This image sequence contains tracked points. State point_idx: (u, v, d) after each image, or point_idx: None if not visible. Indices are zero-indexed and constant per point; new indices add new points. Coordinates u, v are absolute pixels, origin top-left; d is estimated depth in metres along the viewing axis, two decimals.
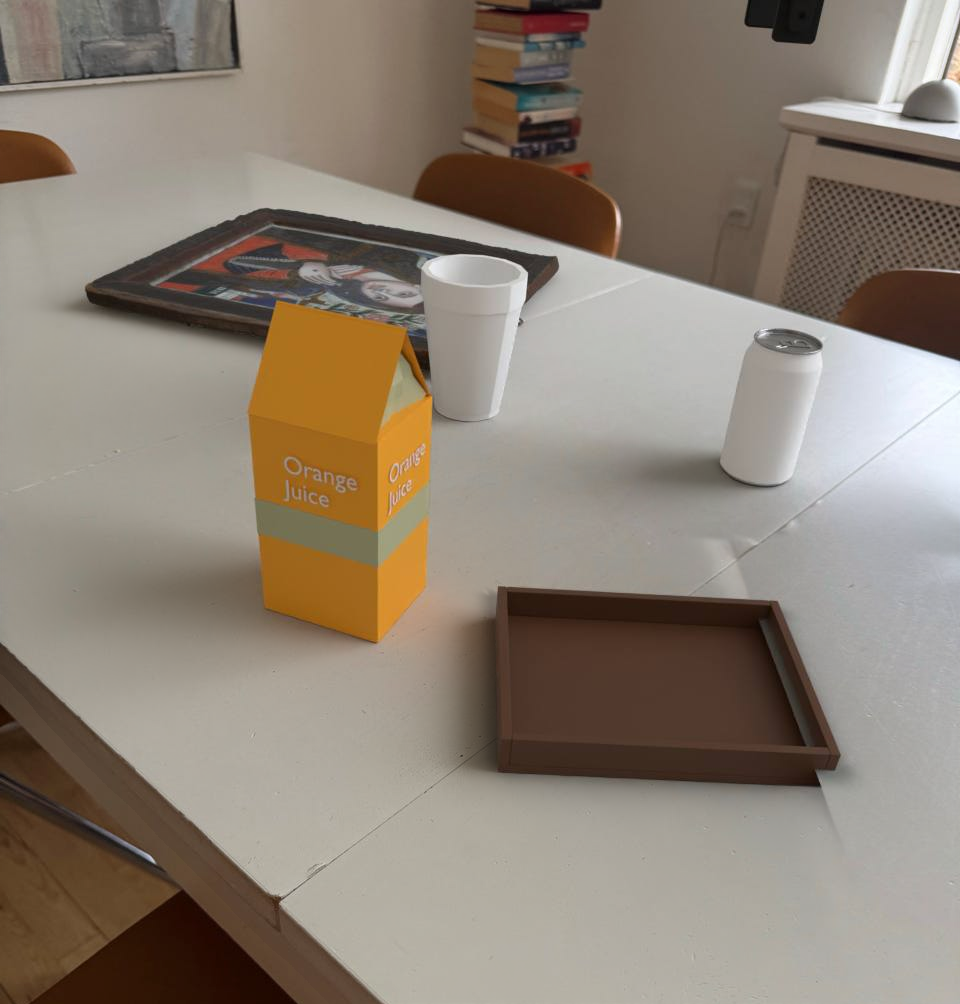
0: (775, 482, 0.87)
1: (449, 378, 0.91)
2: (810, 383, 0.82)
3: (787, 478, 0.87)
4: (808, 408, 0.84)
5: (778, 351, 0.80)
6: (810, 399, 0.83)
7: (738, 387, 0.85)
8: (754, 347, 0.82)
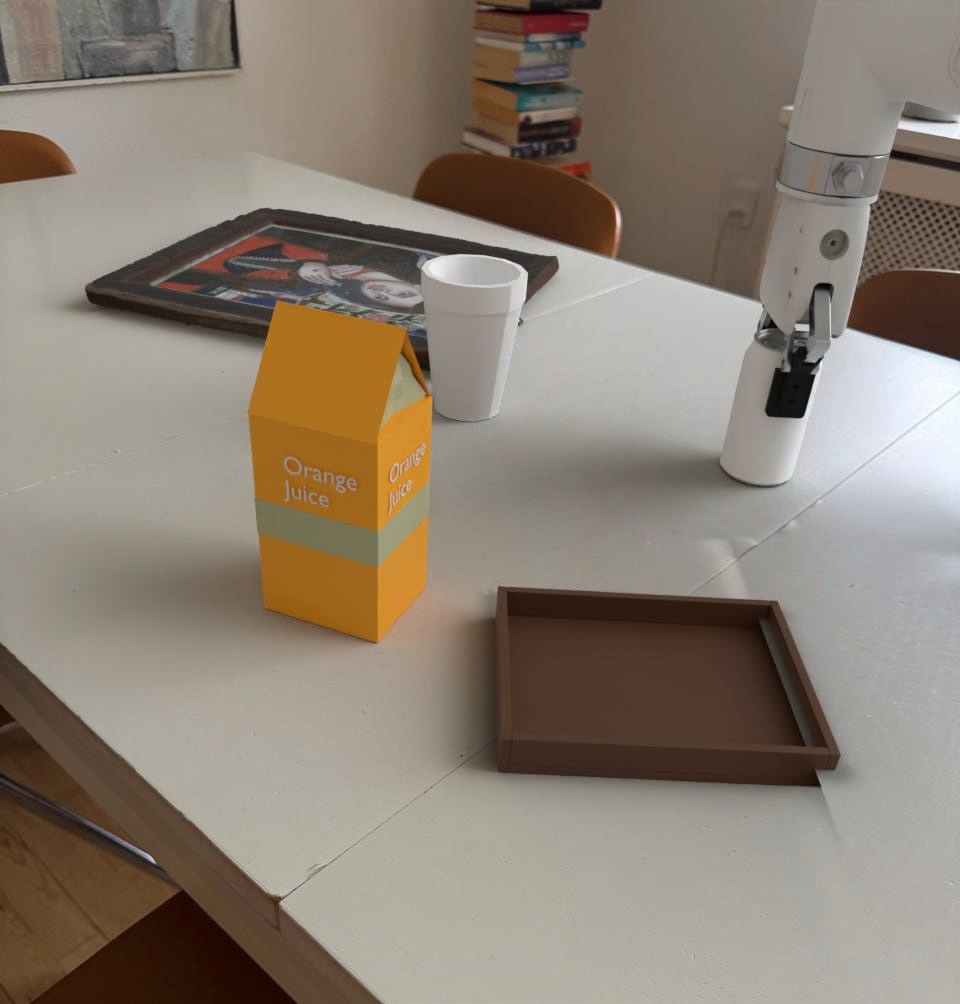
0: (775, 482, 0.87)
1: (449, 378, 0.91)
2: None
3: (787, 478, 0.87)
4: (808, 408, 0.84)
5: (778, 351, 0.80)
6: (810, 399, 0.83)
7: (738, 387, 0.85)
8: (753, 346, 0.82)
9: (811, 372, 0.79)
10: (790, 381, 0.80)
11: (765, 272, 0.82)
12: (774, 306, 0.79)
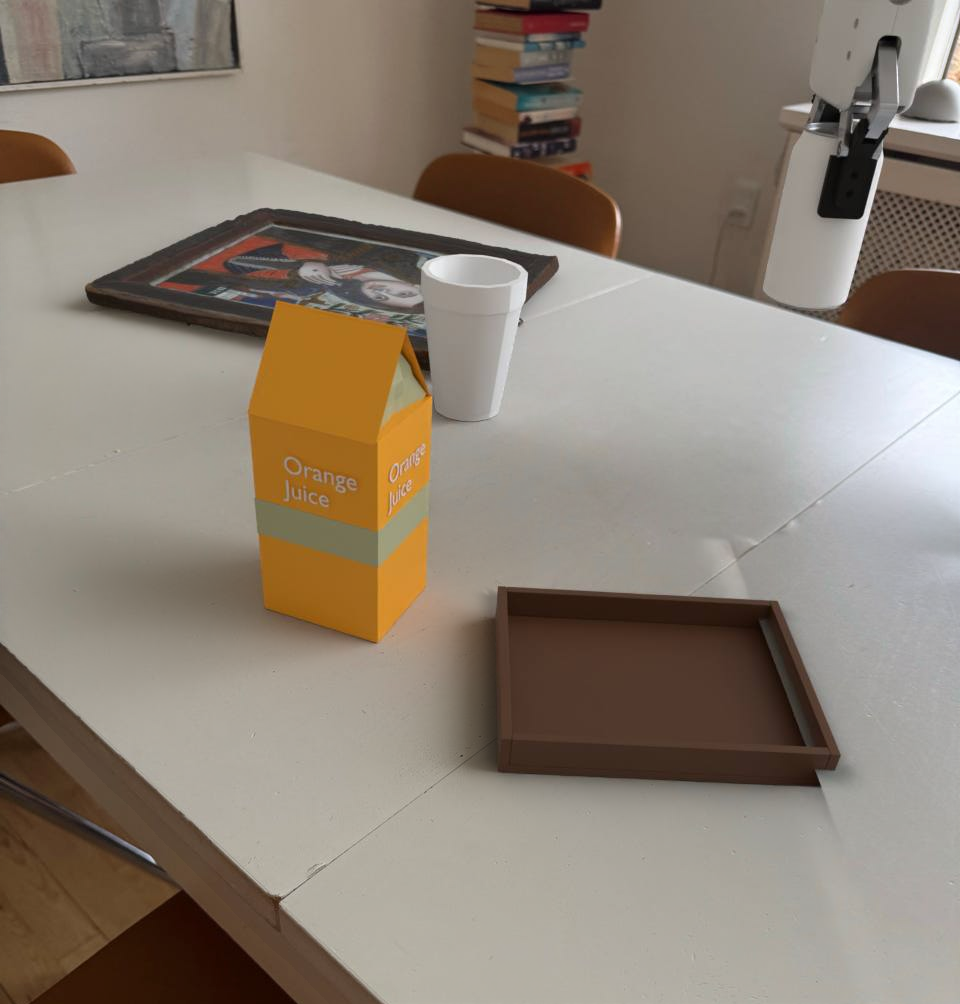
0: (827, 305, 0.76)
1: (449, 378, 0.91)
2: None
3: (841, 301, 0.76)
4: (866, 211, 0.72)
5: (832, 136, 0.69)
6: (869, 199, 0.72)
7: (785, 191, 0.74)
8: (803, 138, 0.71)
9: (873, 155, 0.68)
10: (848, 168, 0.69)
11: (816, 51, 0.71)
12: (828, 81, 0.68)
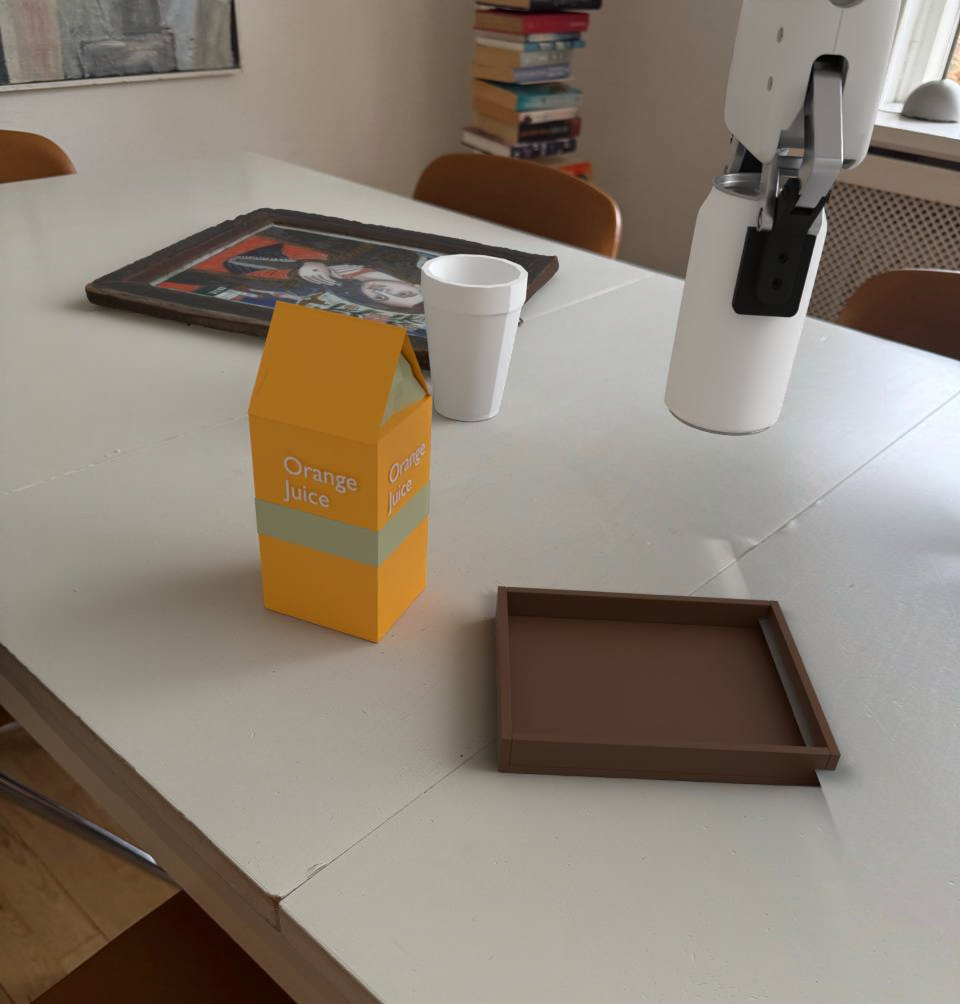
0: (750, 428, 0.54)
1: (449, 378, 0.91)
2: None
3: (770, 423, 0.54)
4: (802, 303, 0.50)
5: (751, 199, 0.47)
6: (806, 286, 0.50)
7: (688, 271, 0.52)
8: (712, 197, 0.49)
9: (808, 230, 0.46)
10: (773, 248, 0.47)
11: (732, 72, 0.49)
12: (745, 119, 0.46)
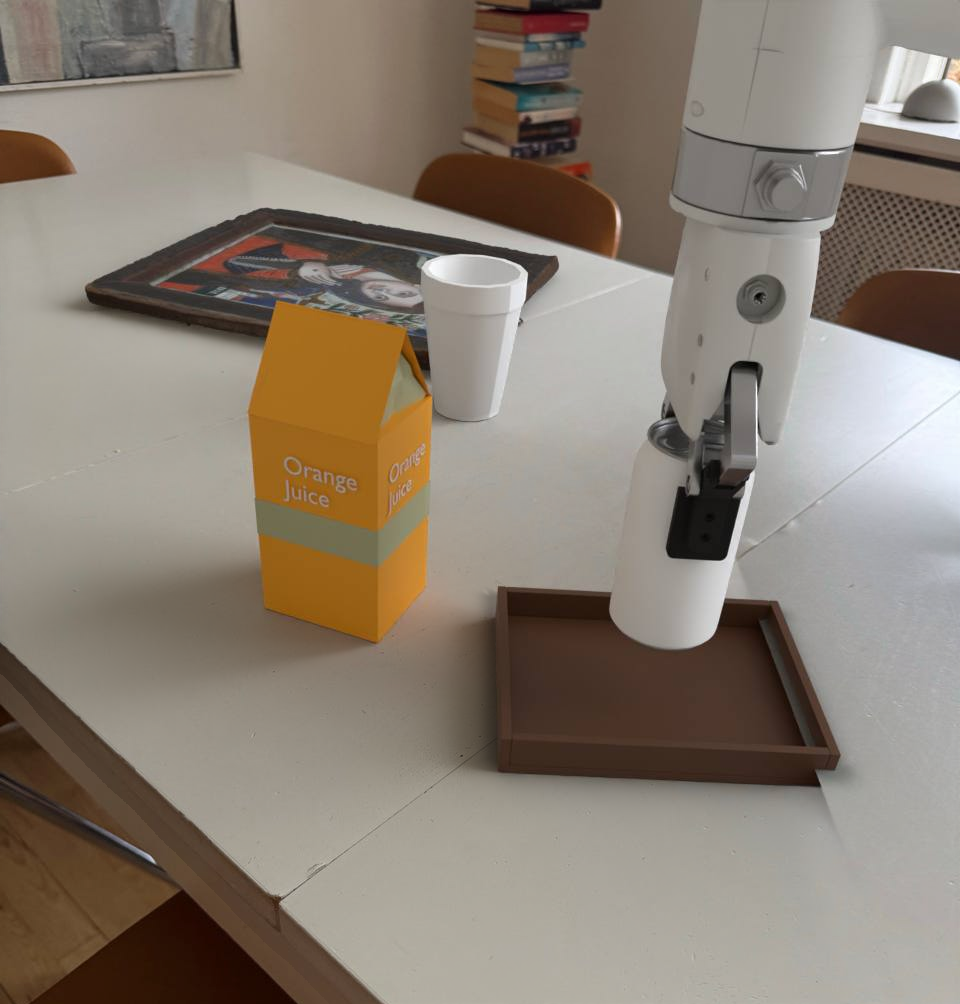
0: (687, 646, 0.57)
1: (449, 378, 0.91)
2: None
3: (706, 638, 0.58)
4: (733, 542, 0.54)
5: (681, 459, 0.51)
6: (735, 529, 0.53)
7: (627, 507, 0.55)
8: (647, 448, 0.53)
9: (733, 497, 0.49)
10: (700, 509, 0.50)
11: (665, 333, 0.53)
12: (674, 390, 0.50)
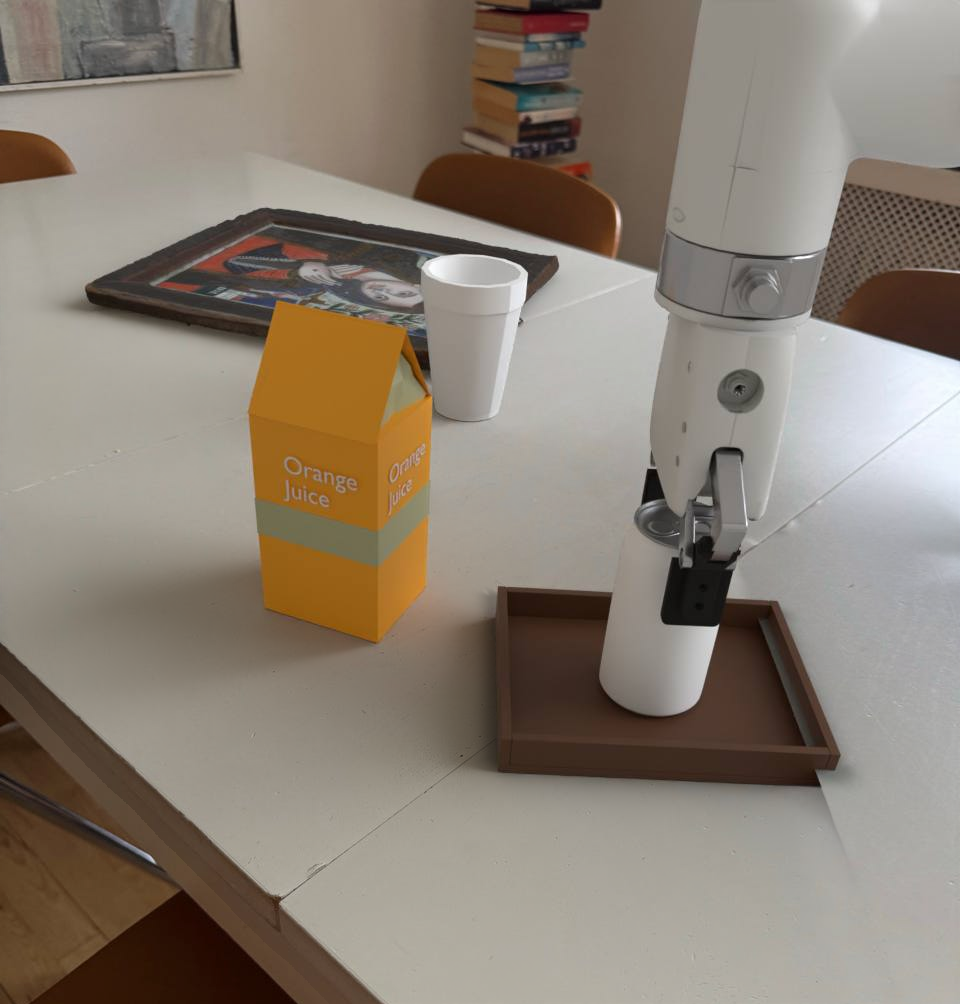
0: (673, 713, 0.60)
1: (449, 378, 0.91)
2: None
3: (691, 705, 0.61)
4: None
5: (665, 545, 0.54)
6: None
7: (615, 584, 0.58)
8: (633, 532, 0.56)
9: None
10: (694, 580, 0.51)
11: (653, 408, 0.55)
12: (661, 467, 0.53)
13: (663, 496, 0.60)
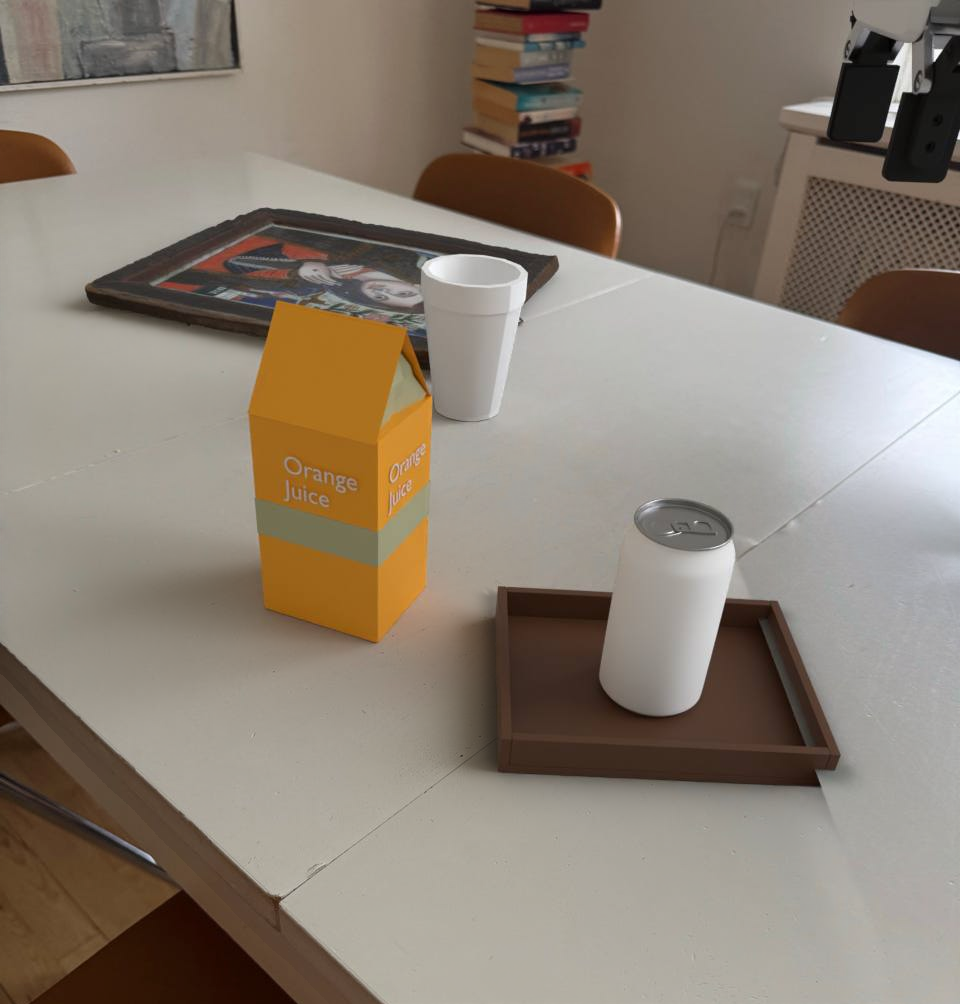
0: (673, 713, 0.60)
1: (449, 378, 0.91)
2: (715, 588, 0.55)
3: (691, 705, 0.61)
4: (715, 618, 0.57)
5: (665, 545, 0.54)
6: (717, 607, 0.57)
7: (615, 584, 0.58)
8: (633, 532, 0.56)
9: None
10: (928, 111, 0.49)
11: None
12: (886, 4, 0.50)
13: (858, 93, 0.57)
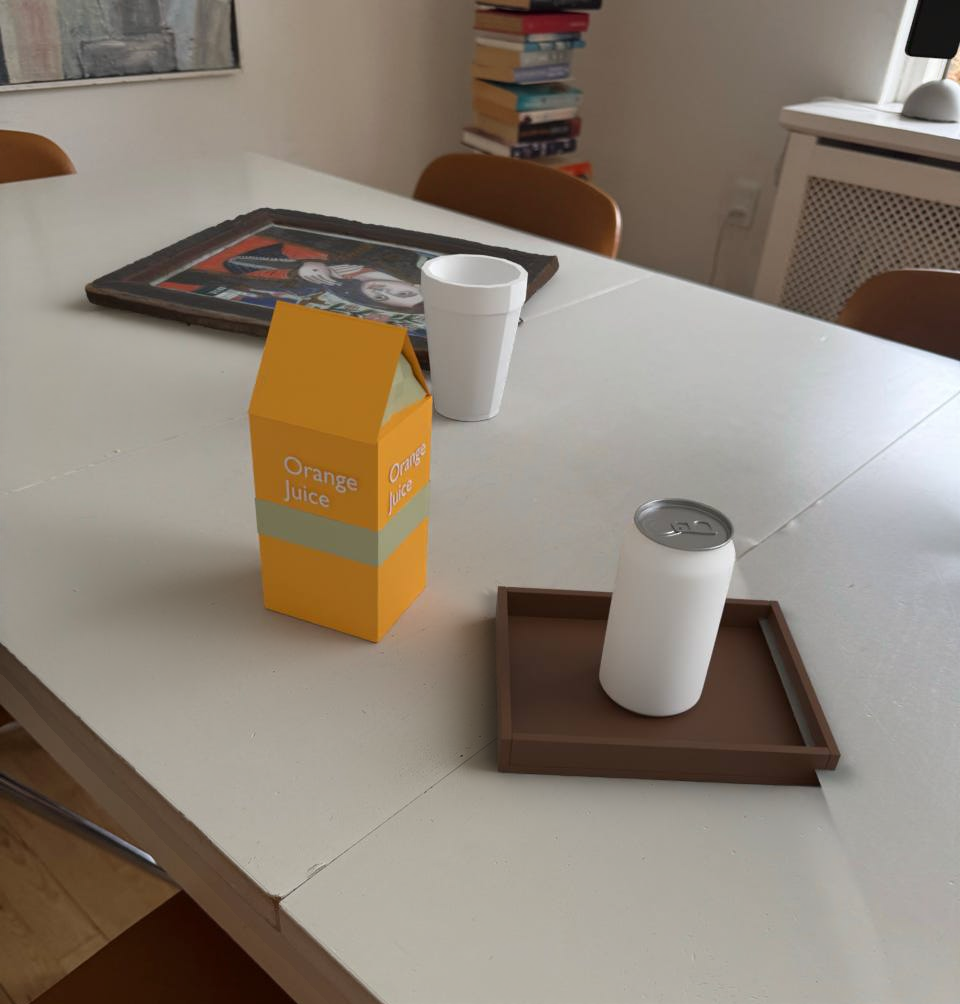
0: (673, 713, 0.60)
1: (449, 378, 0.91)
2: (715, 588, 0.55)
3: (691, 705, 0.61)
4: (715, 618, 0.57)
5: (665, 545, 0.54)
6: (717, 607, 0.57)
7: (616, 584, 0.58)
8: (633, 532, 0.56)
9: None
10: None
11: None
12: None
13: (937, 10, 0.62)
